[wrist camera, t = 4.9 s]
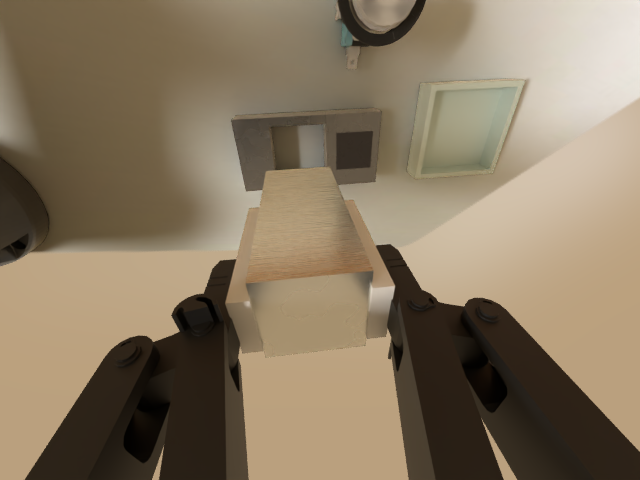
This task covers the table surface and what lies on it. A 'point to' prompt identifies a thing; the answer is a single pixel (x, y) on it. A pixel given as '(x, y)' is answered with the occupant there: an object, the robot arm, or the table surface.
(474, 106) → the parts tray
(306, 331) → the block
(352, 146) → the dark gray slotted holder
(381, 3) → the push button
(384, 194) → the table surface
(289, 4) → the table surface
